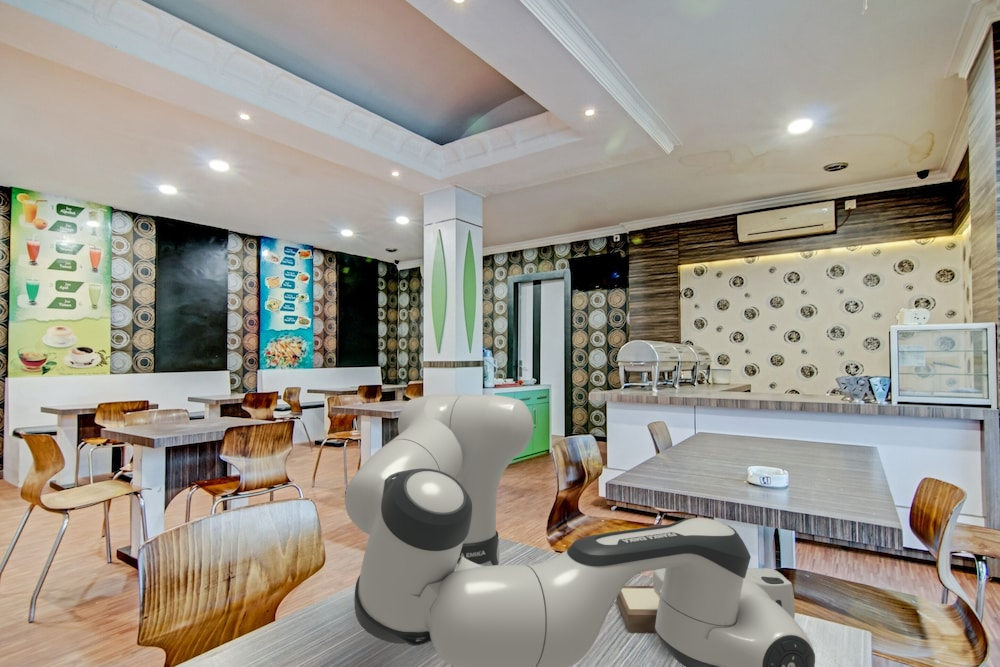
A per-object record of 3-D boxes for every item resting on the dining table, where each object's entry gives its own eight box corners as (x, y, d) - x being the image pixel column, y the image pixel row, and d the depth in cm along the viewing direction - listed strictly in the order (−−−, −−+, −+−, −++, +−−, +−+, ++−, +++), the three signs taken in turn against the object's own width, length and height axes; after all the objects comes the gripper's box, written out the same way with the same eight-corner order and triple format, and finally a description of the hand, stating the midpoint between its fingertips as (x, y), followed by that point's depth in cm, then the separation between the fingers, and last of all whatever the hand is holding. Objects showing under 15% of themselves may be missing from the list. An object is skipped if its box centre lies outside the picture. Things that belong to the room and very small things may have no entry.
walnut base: (628, 632, 84) (628, 613, 84) (616, 601, 94) (615, 584, 95) (684, 632, 83) (683, 613, 83) (665, 601, 94) (664, 584, 94)
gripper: (665, 625, 76) (643, 585, 90) (805, 626, 75) (761, 585, 89) (664, 582, 77) (642, 549, 90) (802, 582, 76) (759, 548, 89)
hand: (702, 567), depth 90 cm, fingers open, 8 cm apart
